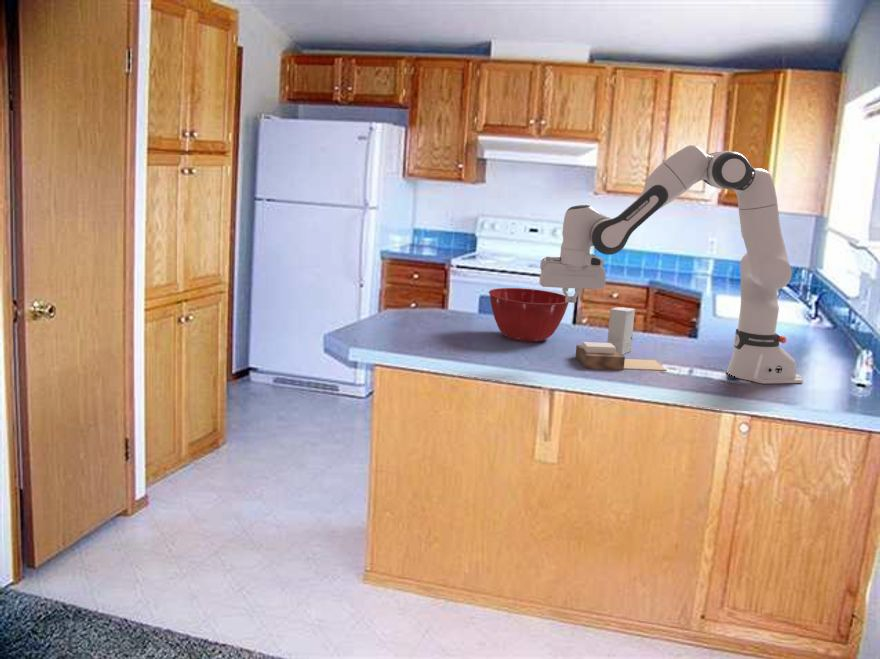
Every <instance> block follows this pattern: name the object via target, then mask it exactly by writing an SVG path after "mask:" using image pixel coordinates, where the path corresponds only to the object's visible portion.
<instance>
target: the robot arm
mask: <svg viewBox="0 0 880 659" xmlns="http://www.w3.org/2000/svg"><path fill="white" fill-rule="evenodd" d="M700 181H702V182H704V183H706V184H707V185H709V186H711V187H713V188H717V189H721V190H733V191H734V193H735V195H736V198H737V206H738V207H737V208H738V216H739V224H740V232H741V233H740V234H741V237H742V239H743V242H744V245H745V249H746V253H745V254H744V255H743V256H742V258H741V260H740V263H739V266H740V307H739V308H740V309H739V310H740V311H739V316H738V323H737V328H736V329H735V333H734V341H733V347H734V349H733V351H732V356H731V359H730V362H729V365H728V367H727V369H726V371H725V372H727V373H728V374H727V375H729V374H730V375H729V376H731V375H732V376H731V377H734V376H735V377H734V378H737V379H741V380H746V381H750V382H755V383H758V384H765V385H766V384H798V383H799V384H803V382H804V380H803V377H802V376H801V375H799V374H797V365H796V361H795V359H794V358H793V357H792V356H791V355H790V354H789V353H788V352H787V351H786V350H784V349H783V347H782V346H780V343H782V344H786V343H787V341H788V340H787V337H786V336H783V335H779V334H777V332H776V330H777V326H778V325H777V324H778V316H779V312H780V311H779V310H780V309H779V308H780V307H779V304H778V302H779V301H778V290H781V289H783V288H785V287H786V286H787V285H788V284H789V283H790V281H791V279H792V275H793V270H792V268H791V264H790V262H789V258H788V254H787V249H786V245H785V242H784V238H783V235H782V231H781V230H782V229H781V223H780V216H779V214H780V213H779V204H778V198H777V192H776V188H775V183H774V180H773V178H772V175H771V173H770V172H769V171H767V170H765V169H763V168H754V167H753V166H752V165H751V163H750V161H749V160H748V159H747V158H746V157H745V156H744V155H743V154H741V153H739V152H737V151H730V150H721V151H716V152H711V153H706V152H705V150H703V149H702V148H701V147H699V146H697V145H692V144H691V145H687V146H685V147H683V148H682V149H681V148H680V150H678V151H677V152H674V153H673V154H672V155H670V156H669V157H668V158H666V159H665V160H663V162H662V163H660V164H659V165H658V166H657V167H656V168H655V169H653V171H652V172H651V173H650V174H649V175H648V177H647V178H646V180H645V184H644V187H643V190H642V192H641V194H640V195H639V197H637V199H635V200H634V201H633V202H632V203H630V205H629V206H628V207H627V208H625V209H624V210H623V211H622V212H621V213H620V214H618V215H617V216H615V217H613V218H611V217H609V216H606V215H604V214H602V213H600V212H599V211H598V210H596V209H595V208H593V206H591V205H588V204H585V205H584V204H580V205H573V206H571V207H569V208H568V209H567V210H566V211H565V214H564V218H563V222H562V230H561V231H562V233H561V234H562V243H561V246H560V254H559V255H560V256H545V257H544V258H542V259H541V261H540V273H539V274H540V275H539V284H540V286H541V287H543V288H560V289H562V292H563V295H564V296H565V302H569V303H572V304H573V303H574V304H575V303H577V298H578V297H579V295H580V294H581V291H582V289H583V290H603V289H605V287H606V280H607V278H606V277H607V276H606V269H605V268H604V267H603V266H604V265H605V260H604V259H603V258H601V257H599V256H598V255H595V254H593V253H592V254H591V253H590V252H591V247H594V248H595V249H596V251H597V252H599V253H601V254H603V255H605V256H606V255H607V256H608V255H611V256H612V255H615V254H618V253H619V252H620V251H622V250H623V249H624V247H625V246H626V244H627V243H628V241H629V238H630V236H631V235H632V233H633V232H634V231H636V229H638V228H639V227H640V226H641V225H642V224H643V223H644V222H646V220H648V219H649V218H651V216H652V215H653V214H655V213H656V212H657V211H658V210H660V209H661V208H663V207H665V206H666V205H669V204H670V203H673V201H674V200H676V199H677V198H680V196H682V195H683V194H684V193H686V192H687V190H689V189H690V188H691V187H692V186H694V185H695V184H697V183H699V182H700ZM569 289H574V291H575V292H574V294H573V296H572V295H569V294H568V292H569Z"/></svg>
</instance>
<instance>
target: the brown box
mask: <svg viewBox="0 0 880 659" xmlns="http://www.w3.org/2000/svg"><path fill="white" fill-rule="evenodd" d="M582 347H583V344H576V347H575V358H576V359H577V360H578V362H579V363H580V364H581V365H582V366H583V367H584V368H585V369H594V370H596V369H597V370H598V369H601V370H619V371H621V370H623V371H624V370H625V369H624V361H625V359H626V357H625V356H624V354H623V355H622V354H621V353H620V352H619V351H617V350H616V351H615V354H609V353H587V352H586V351H585V350H584V349H583V348H582Z"/></svg>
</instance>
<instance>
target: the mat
mask: <svg viewBox="0 0 880 659" xmlns="http://www.w3.org/2000/svg"><path fill="white" fill-rule="evenodd" d="M624 370H639V371H640V370H641V371H644V370H645V371H661V370H667V368H665V367H664V366H663V365H662V364H661V363H659V362H658V361H657V360H655V359H640V358H639V359H635V358H625V361H624Z"/></svg>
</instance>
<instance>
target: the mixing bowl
mask: <svg viewBox="0 0 880 659" xmlns="http://www.w3.org/2000/svg"><path fill="white" fill-rule="evenodd" d="M488 294H489V299H490V305H491V311H492V313H493V314H492V315H493V318H494V320H495V323H496V326H497V328H498V330H499V331H500V332H501V333H502V334H503V335H504V336H505V337H506V338H507V339H510V340H512V341H517V342H522V341H523V342H522V343H524V342H525V343H538V342H537V341H541V342H543V340H544V341H545V340H547V339H549V338H551V336H552V335H553V334H554V333H555V332H556V330H557V329H558V328H559V326H560V324H561V322H562V320H563V318H564V316H565V313H566V311H567V308H568V306H569V303H570V302H565V295H564V294H561V293H557V292H553V291H547V290H541V289H534V288H533V289H532V288H520V287H519V288H518V287H503V288H502V287H501V288H492V289H490V290H489V291H488Z"/></svg>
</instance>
